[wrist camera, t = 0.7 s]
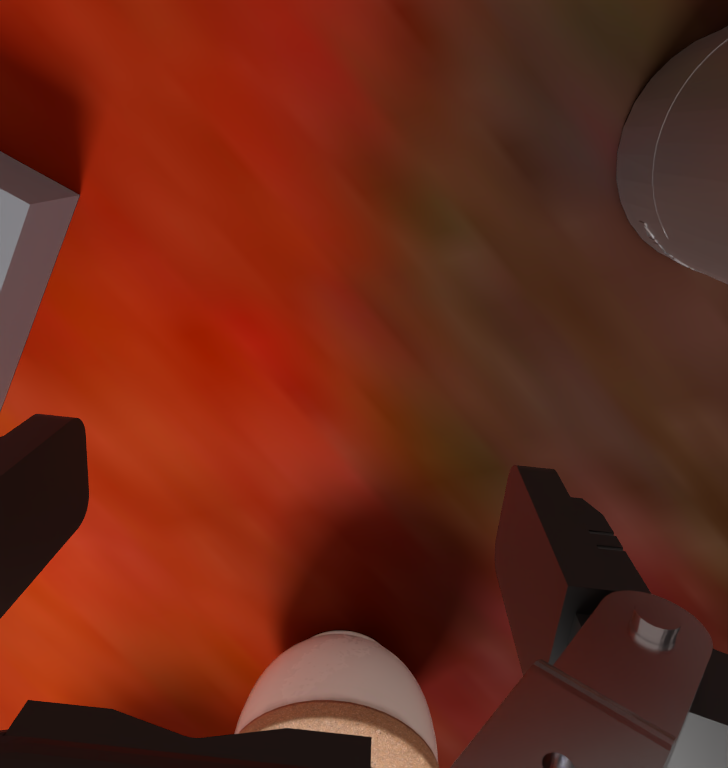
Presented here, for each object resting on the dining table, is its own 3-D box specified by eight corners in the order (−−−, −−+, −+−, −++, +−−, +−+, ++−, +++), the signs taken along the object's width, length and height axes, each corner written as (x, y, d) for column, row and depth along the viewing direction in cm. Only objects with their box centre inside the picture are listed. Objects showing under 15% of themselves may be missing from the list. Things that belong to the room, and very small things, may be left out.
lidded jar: (226, 619, 36) (171, 774, 27) (405, 580, 34) (409, 732, 25) (288, 747, 39) (258, 921, 31) (453, 718, 38) (470, 892, 29)
